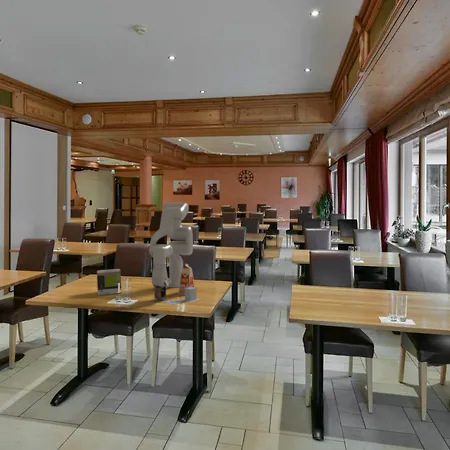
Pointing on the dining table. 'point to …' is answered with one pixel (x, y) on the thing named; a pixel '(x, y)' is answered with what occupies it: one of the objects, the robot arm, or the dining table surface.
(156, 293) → the walnut block
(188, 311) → the dining table surface
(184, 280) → the milk carton
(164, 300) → the coaster
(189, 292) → the grey block
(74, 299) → the dining table surface
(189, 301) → the code tile
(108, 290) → the tea box
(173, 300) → the code tile
